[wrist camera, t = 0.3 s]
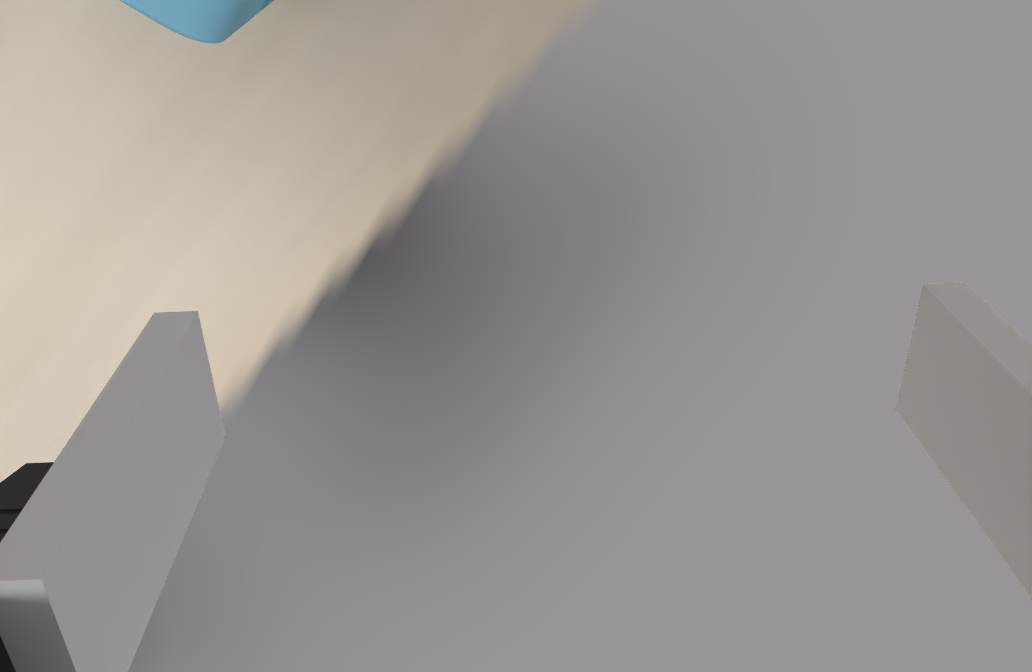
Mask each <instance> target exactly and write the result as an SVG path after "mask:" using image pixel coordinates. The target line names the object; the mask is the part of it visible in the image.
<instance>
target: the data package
mask: <svg viewBox="0 0 1032 672" xmlns="http://www.w3.org/2000/svg"><path fill="white" fill-rule="evenodd" d="M120 1H122V2H123V3H125V4H127V5H129V6H130V7H132V8H134V9H135V10H137V11H139V12H140V13H142V14H144V15H146V16H147V17H149V18H151V19H152V20H154V21H156V22H157V23H159V24H161V25H163V26H164V27H166V28H168V29H170V30H172V31H174V32H176V33H178V34H181V35H183V36H185V37H188V38H191V39H194V40H197V41H200V42H205V43H220V42H222V41H224V40H225V39H227V38H228V37H229V36H230V35H231V34H233V33H234V32H235V31H236V30H238V29H239V28H240V27H241V26H243V25H244V24H245V23H246V22H248V21H249V20H250V19H251V18H253V17H254V16H255V15H256V14H258V13H259V12H260V11H261V10H262V9H264V8H265V7H266V6H267V5H269V4H270V3H271V2H272V1H274V0H120Z"/></svg>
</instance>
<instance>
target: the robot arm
mask: <svg viewBox="0 0 1032 672" xmlns="http://www.w3.org/2000/svg"><path fill="white" fill-rule="evenodd" d="M896 412H897V413H898V415H899V416H900V417H901V419H902V420H903V422H904V423H905V424H906V426H907V427H908V428H909V430H910V431H911V433H912V434H913V435H914V437H915V438H916V439H917V441H918V442H919V444H920V445H921V446H922V448H923V449H924V451H925V452H926V453H927V455H928V456H929V458H930V459H931V460H932V462H933V463H934V465H935V466H936V467H937V468H938V470H939V471H940V473H941V474H942V475H943V477H944V478H945V480H946V481H947V483H948V484H949V485H950V486H951V488H952V489H953V491H954V492H955V494H956V495H957V496H958V498H959V499H960V501H961V502H962V503H963V505H964V506H965V507H966V509H967V510H968V511H969V513H970V514H971V516H972V517H973V519H974V520H975V521H976V523H977V524H978V526H979V527H980V528H981V529H982V531H983V532H984V534H985V535H986V537H987V538H988V539H989V541H990V542H991V544H992V545H993V546H994V548H995V549H996V551H997V552H998V553H999V554H1000V556H1001V558H1002V559H1003V560H1004V562H1005V563H1006V564H1007V566H1008V567H1009V569H1010V570H1011V571H1012V573H1013V574H1014V576H1015V577H1016V578H1017V580H1018V581H1019V582H1020V584H1021V585H1022V587H1023V588H1024V589H1025V591H1026V592H1027V593H1028V595H1029V596H1030V598H1031V599H1032V345H1031V344H1030V343H1029V342H1028V341H1027V340H1026V339H1025V338H1024V337H1022V336H1021V335H1020V334H1019V333H1018V332H1017V331H1016V330H1015V329H1014V328H1013V327H1012V326H1011V325H1009V323H1007V322H1006V321H1005V320H1004V319H1003V318H1002V317H1001V316H1000V315H999V314H998V313H997V312H996V311H995V310H993V309H992V308H991V307H990V306H989V305H988V304H987V303H986V302H985V301H984V300H983V299H982V298H981V297H979V296H978V295H977V294H976V293H975V292H974V291H973V290H972V289H971V288H970V287H968V285H966V284H965V283H944V284H923V287H922V291H921V296H920V301H919V305H918V309H917V314H916V319H915V323H914V328H913V332H912V337H911V341H910V346H909V351H908V355H907V359H906V365H905V369H904V373H903V378H902V383H901V387H900V391H899V396H898V400H897V405H896ZM224 439H225V433H224V428H223V424H222V419H221V415H220V410H219V406H218V401H217V397H216V392H215V388H214V383H213V379H212V374H211V369H210V365H209V360H208V356H207V351H206V347H205V342H204V338H203V333H202V329H201V324H200V320H199V315H198V311H188V312H161V313H154V314H153V316H152V317H151V319H150V320H149V322H148V323H147V325H146V326H145V328H144V329H143V331H142V332H141V334H140V335H139V337H138V338H137V340H136V341H135V343H134V344H133V346H132V347H131V349H130V350H129V352H128V353H127V355H126V356H125V357H124V359H123V360H122V362H121V363H120V365H119V366H118V368H117V369H116V371H115V372H114V374H113V375H112V377H111V378H110V380H109V381H108V383H107V384H106V386H105V387H104V389H103V390H102V392H101V393H100V395H99V396H98V398H97V399H96V401H95V402H94V404H93V405H92V407H91V408H90V410H89V411H88V413H87V414H86V416H85V417H84V419H83V420H82V422H81V423H80V425H79V426H78V428H77V429H76V431H75V432H74V433H73V435H72V436H71V438H70V439H69V441H68V442H67V444H66V445H65V447H64V448H63V450H62V451H61V453H60V454H59V456H58V457H57V459H56V460H55V462H50V463H26V464H25V465H24V466H22V467H21V468H20V469H18V470H17V471H15V472H14V473H13V474H11V475H10V476H9V477H7V478H6V479H5V480H3V481H2V482H1V483H0V672H128V670H129V667H130V665H131V662H132V660H133V657H134V655H135V653H136V650H137V648H138V646H139V643H140V641H141V638H142V636H143V634H144V631H145V629H146V626H147V624H148V622H149V619H150V617H151V614H152V612H153V609H154V607H155V604H156V602H157V600H158V598H159V595H160V593H161V590H162V588H163V586H164V583H165V581H166V578H167V576H168V574H169V571H170V569H171V566H172V564H173V561H174V559H175V557H176V554H177V552H178V550H179V547H180V545H181V542H182V540H183V537H184V535H185V533H186V530H187V528H188V526H189V523H190V520H191V518H192V516H193V514H194V511H195V509H196V506H197V504H198V501H199V499H200V496H201V494H202V492H203V489H204V487H205V485H206V482H207V480H208V478H209V475H210V473H211V470H212V468H213V465H214V463H215V461H216V458H217V456H218V453H219V451H220V449H221V446H222V444H223V441H224Z"/></svg>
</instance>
